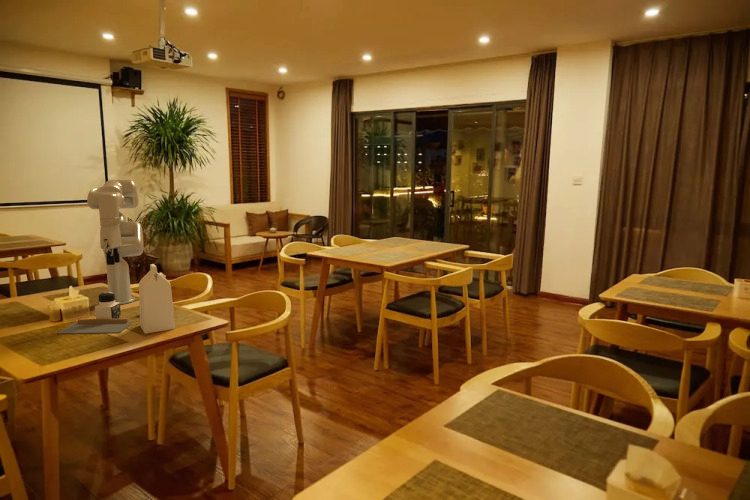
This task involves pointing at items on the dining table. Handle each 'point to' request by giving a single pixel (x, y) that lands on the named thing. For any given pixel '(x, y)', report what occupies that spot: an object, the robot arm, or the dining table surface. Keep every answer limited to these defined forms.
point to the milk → (155, 302)
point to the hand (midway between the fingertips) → (113, 263)
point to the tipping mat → (96, 326)
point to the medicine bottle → (107, 307)
